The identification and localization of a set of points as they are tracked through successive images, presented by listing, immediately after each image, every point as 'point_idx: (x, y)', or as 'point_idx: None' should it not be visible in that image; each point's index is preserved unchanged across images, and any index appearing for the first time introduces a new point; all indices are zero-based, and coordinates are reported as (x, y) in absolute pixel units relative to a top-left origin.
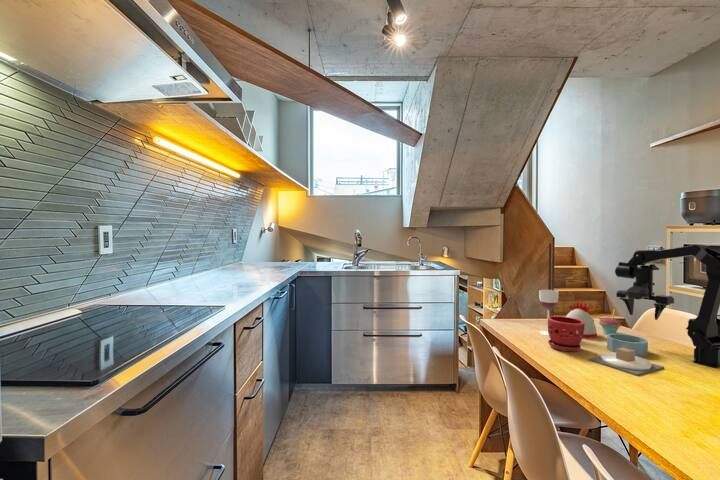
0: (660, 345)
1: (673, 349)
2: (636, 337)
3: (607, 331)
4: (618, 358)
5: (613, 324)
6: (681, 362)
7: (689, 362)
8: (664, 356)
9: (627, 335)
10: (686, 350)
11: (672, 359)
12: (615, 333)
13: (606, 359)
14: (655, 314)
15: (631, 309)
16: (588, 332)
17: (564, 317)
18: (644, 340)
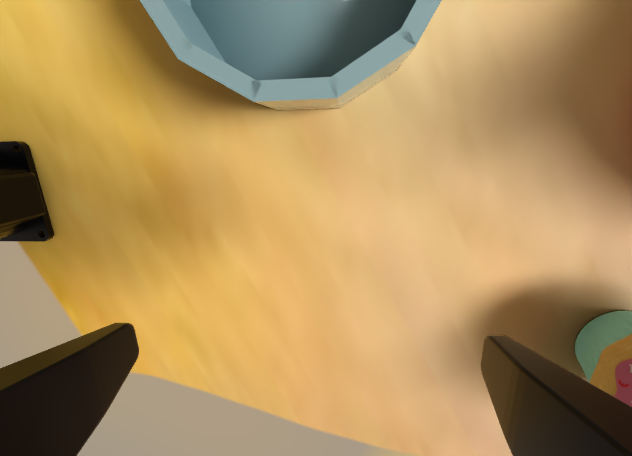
0: (291, 322)
1: (218, 304)
2: (285, 81)
3: (629, 315)
4: None
5: None
6: (37, 74)
7: (32, 122)
8: (140, 104)
9: (358, 60)
10: (187, 343)
11: (87, 85)
12: (575, 346)
13: None
14: (35, 367)
15: (548, 440)
16: None
17: None
18: (197, 47)
